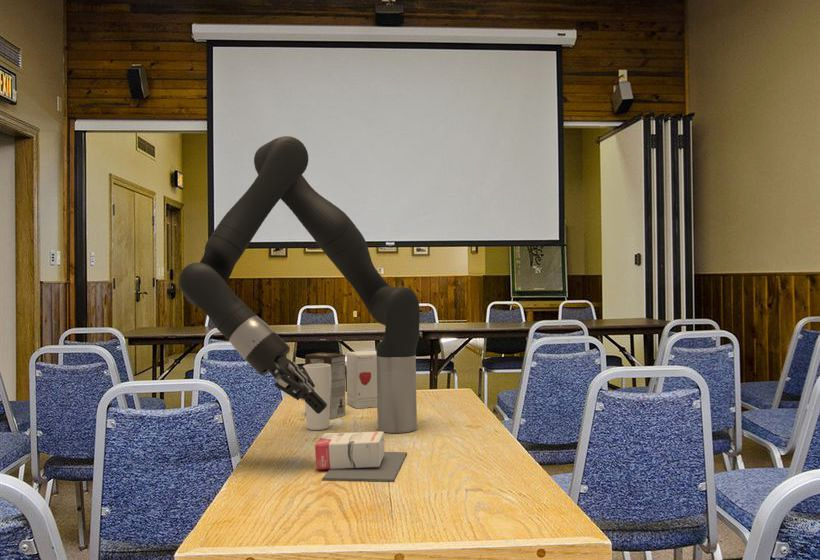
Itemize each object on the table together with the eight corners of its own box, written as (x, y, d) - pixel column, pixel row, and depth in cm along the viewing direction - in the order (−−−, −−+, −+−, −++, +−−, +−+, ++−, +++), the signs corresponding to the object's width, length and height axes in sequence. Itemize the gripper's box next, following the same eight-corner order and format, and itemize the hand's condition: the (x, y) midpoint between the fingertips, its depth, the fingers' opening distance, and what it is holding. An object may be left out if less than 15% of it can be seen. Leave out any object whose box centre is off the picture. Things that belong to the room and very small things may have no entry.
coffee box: (304, 416, 167) (303, 354, 167) (320, 411, 172) (319, 352, 172) (331, 419, 162) (330, 356, 162) (347, 415, 167) (346, 353, 167)
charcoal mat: (345, 453, 129) (345, 451, 129) (406, 454, 127) (406, 452, 127) (322, 480, 111) (322, 477, 111) (393, 481, 109) (393, 479, 109)
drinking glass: (298, 430, 150) (297, 366, 150) (313, 424, 156) (312, 363, 156) (323, 432, 147) (322, 367, 148) (337, 426, 154) (336, 363, 154)
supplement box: (356, 409, 175) (355, 354, 175) (346, 403, 183) (345, 351, 183) (387, 406, 179) (386, 352, 179) (376, 401, 187) (375, 350, 187)
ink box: (315, 470, 116) (380, 468, 115) (314, 443, 116) (378, 441, 115) (325, 457, 124) (385, 455, 124) (324, 432, 125) (384, 430, 124)
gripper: (260, 333, 115) (328, 402, 113) (283, 328, 128) (344, 390, 126) (232, 363, 115) (299, 431, 114) (258, 355, 129) (318, 416, 127)
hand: (323, 409), depth 120 cm, fingers closed
